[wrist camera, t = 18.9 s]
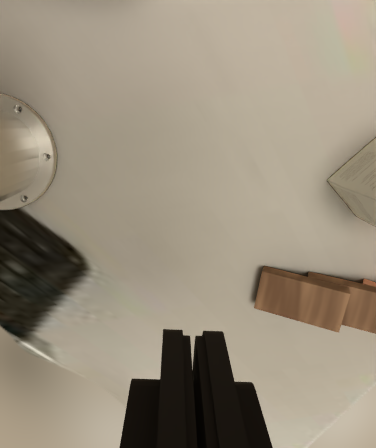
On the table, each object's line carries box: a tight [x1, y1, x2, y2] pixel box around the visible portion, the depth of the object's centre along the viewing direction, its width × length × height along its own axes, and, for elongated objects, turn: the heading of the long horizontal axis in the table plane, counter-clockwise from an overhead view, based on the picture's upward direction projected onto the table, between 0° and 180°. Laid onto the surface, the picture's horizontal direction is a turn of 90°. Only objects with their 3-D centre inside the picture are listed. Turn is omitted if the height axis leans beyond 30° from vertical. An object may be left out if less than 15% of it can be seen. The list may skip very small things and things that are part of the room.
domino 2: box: [307, 272, 376, 334], centre depth 43 cm, size 2×5×10 cm
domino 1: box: [254, 266, 350, 332], centre depth 42 cm, size 2×5×10 cm
